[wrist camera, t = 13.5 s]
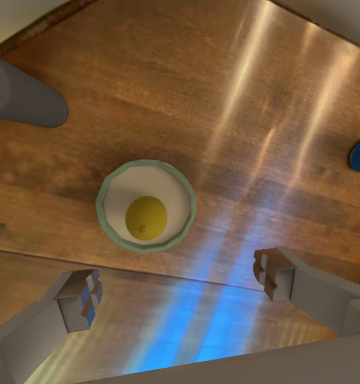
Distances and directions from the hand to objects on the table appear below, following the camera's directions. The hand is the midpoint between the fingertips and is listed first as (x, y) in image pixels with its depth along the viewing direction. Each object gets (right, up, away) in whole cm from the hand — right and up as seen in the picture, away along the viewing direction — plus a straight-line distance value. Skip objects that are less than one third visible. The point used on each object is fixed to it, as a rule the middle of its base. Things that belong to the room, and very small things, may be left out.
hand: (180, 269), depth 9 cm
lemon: (-5, +2, +18) cm, 19 cm away
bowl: (-6, +3, +23) cm, 23 cm away
